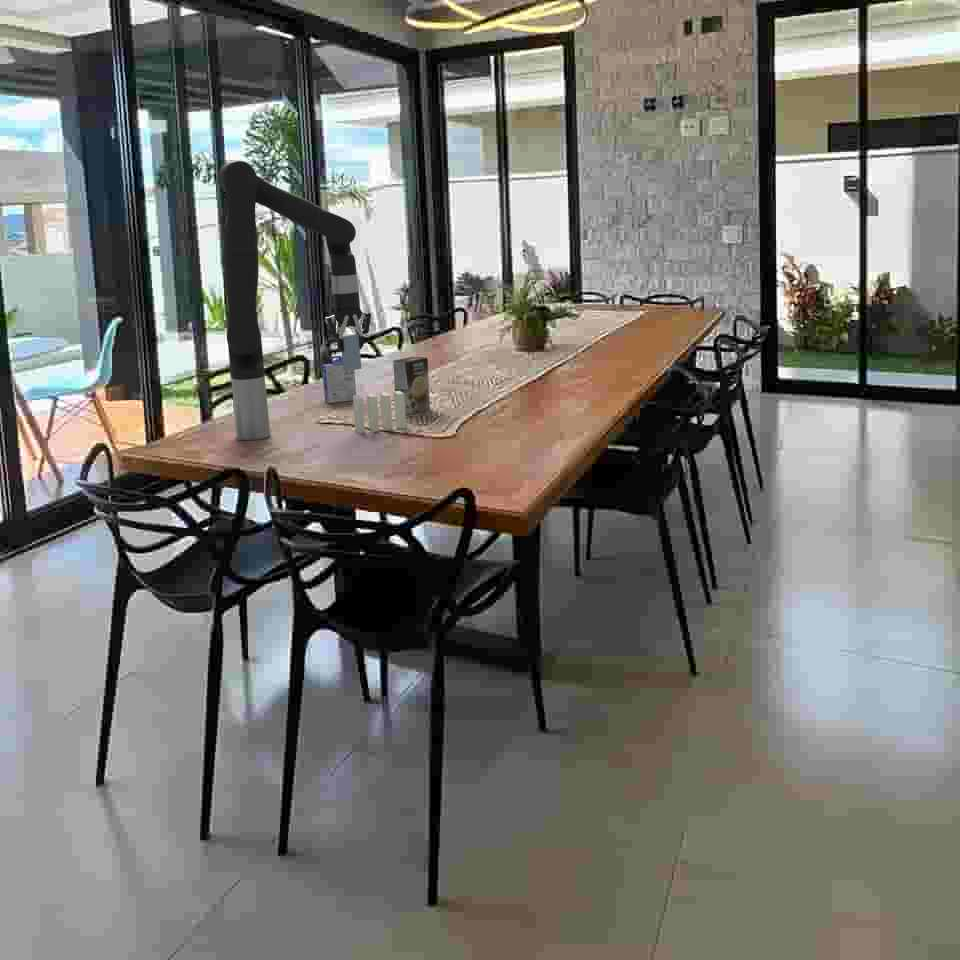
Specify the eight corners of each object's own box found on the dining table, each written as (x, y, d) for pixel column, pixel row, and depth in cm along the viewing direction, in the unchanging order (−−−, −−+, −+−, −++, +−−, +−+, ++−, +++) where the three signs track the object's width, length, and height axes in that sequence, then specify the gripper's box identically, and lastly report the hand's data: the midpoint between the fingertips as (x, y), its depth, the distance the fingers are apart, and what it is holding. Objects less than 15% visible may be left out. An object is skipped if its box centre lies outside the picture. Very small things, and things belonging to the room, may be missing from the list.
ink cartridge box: (352, 397, 362) (349, 353, 358) (357, 400, 357) (354, 356, 354) (323, 401, 358) (320, 357, 354) (328, 403, 354) (325, 359, 350)
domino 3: (386, 430, 312) (384, 395, 310) (382, 426, 317) (380, 392, 314) (392, 429, 313) (390, 395, 310) (388, 426, 318) (386, 392, 315)
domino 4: (400, 428, 314) (397, 394, 311) (395, 425, 318) (393, 391, 316) (406, 428, 314) (404, 393, 311) (401, 424, 319) (399, 390, 316)
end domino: (361, 368, 319) (358, 334, 316) (345, 371, 316) (342, 336, 313) (358, 367, 320) (355, 333, 317) (343, 370, 318) (340, 335, 315)
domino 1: (358, 433, 310) (356, 398, 307) (355, 429, 315) (352, 395, 312) (365, 432, 311) (362, 398, 308) (361, 429, 315) (358, 394, 313)
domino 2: (372, 431, 311) (370, 397, 309) (368, 428, 316) (366, 394, 313) (378, 431, 312) (376, 396, 309) (375, 427, 316) (372, 393, 314)
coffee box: (410, 414, 332) (407, 362, 327) (395, 412, 336) (392, 360, 331) (430, 409, 339) (428, 357, 334) (415, 407, 343) (412, 356, 338)
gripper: (327, 294, 305) (332, 355, 310) (374, 289, 312) (378, 348, 317) (317, 292, 312) (322, 352, 316) (363, 287, 319) (367, 345, 323)
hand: (350, 350), depth 317 cm, fingers closed on end domino, 5 cm apart
